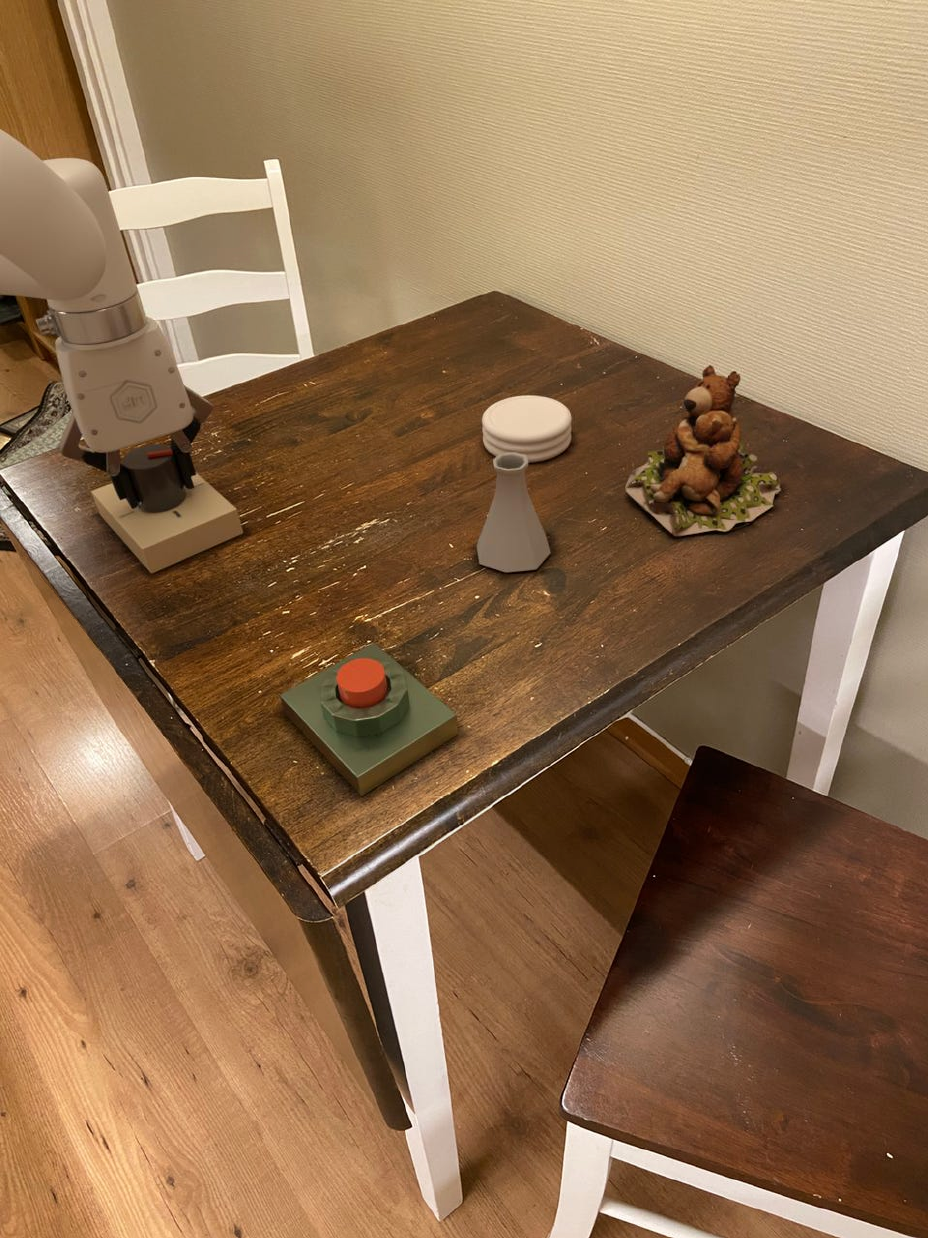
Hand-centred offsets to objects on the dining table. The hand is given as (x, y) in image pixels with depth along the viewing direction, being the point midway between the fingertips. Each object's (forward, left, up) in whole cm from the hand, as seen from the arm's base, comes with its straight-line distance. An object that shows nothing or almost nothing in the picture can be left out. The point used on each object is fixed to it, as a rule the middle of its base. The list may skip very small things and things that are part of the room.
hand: (159, 491), depth 89 cm
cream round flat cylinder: (+25, +31, -4) cm, 40 cm away
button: (+35, -13, 0) cm, 38 cm away
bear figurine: (+46, +29, -4) cm, 55 cm away
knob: (0, 0, -1) cm, 1 cm away
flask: (+34, +12, -4) cm, 37 cm away
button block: (+36, -13, -4) cm, 38 cm away
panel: (0, 0, -4) cm, 4 cm away
